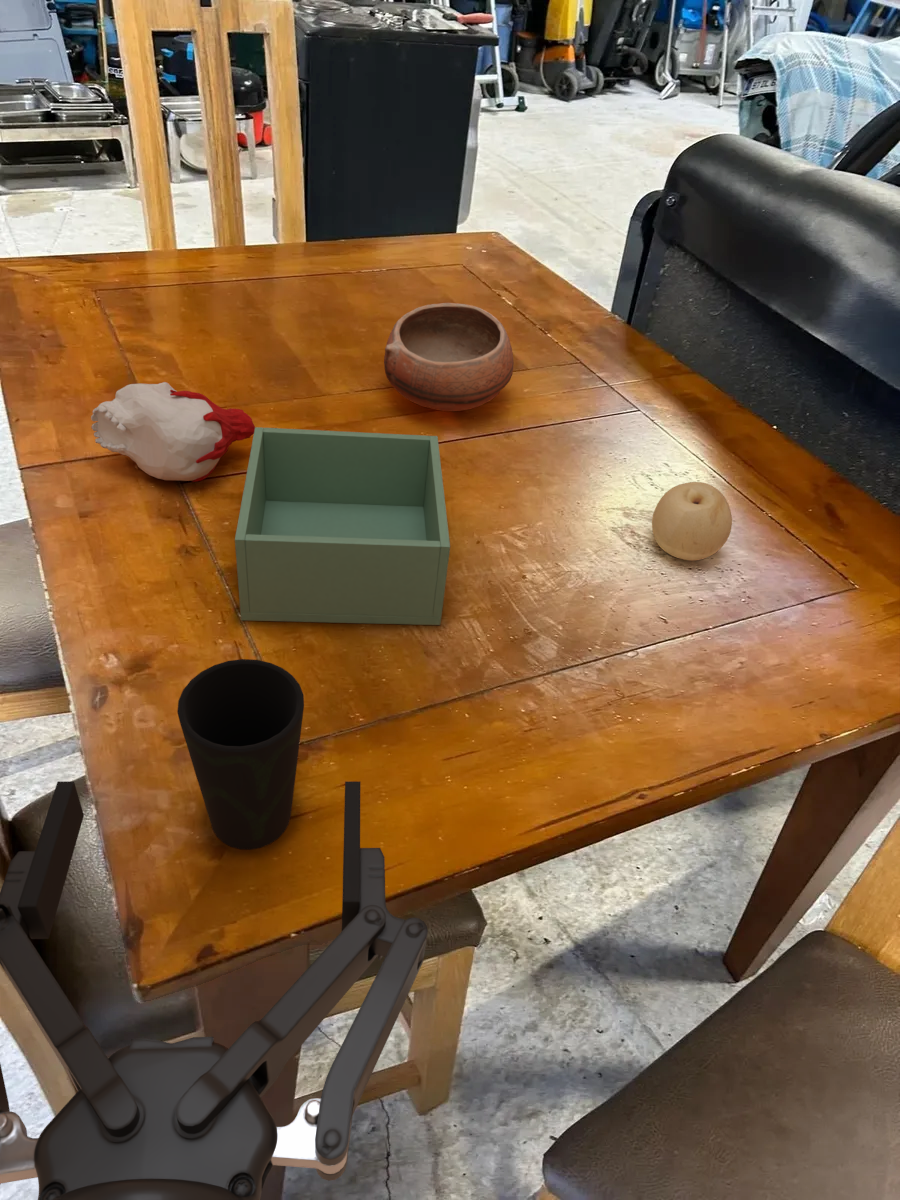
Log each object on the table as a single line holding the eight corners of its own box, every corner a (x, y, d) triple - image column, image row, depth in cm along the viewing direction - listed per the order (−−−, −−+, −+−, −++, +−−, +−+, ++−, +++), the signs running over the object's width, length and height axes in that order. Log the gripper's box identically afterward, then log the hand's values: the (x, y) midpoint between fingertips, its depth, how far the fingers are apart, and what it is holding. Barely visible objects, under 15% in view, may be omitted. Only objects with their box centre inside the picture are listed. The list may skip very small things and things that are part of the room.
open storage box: (240, 620, 78) (234, 539, 72) (259, 503, 91) (255, 426, 85) (440, 625, 80) (450, 546, 74) (429, 510, 93) (437, 435, 87)
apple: (732, 535, 94) (759, 506, 87) (684, 586, 92) (708, 560, 85) (676, 487, 95) (698, 455, 88) (628, 536, 93) (646, 507, 86)
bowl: (359, 405, 108) (362, 327, 101) (417, 357, 119) (423, 284, 112) (476, 444, 103) (487, 365, 97) (525, 390, 115) (537, 317, 108)
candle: (90, 458, 93) (220, 436, 102) (138, 511, 87) (271, 482, 96) (86, 377, 87) (223, 361, 97) (136, 428, 81) (277, 406, 90)
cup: (274, 878, 59) (267, 767, 51) (173, 840, 61) (152, 726, 53) (323, 791, 65) (324, 679, 57) (230, 758, 66) (218, 644, 58)
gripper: (-251, 1405, 29) (-32, 843, 45) (501, 1348, 32) (456, 839, 48) (-368, 1361, 24) (-76, 748, 40) (534, 1299, 27) (471, 750, 43)
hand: (214, 797), depth 44 cm, fingers open, 13 cm apart
